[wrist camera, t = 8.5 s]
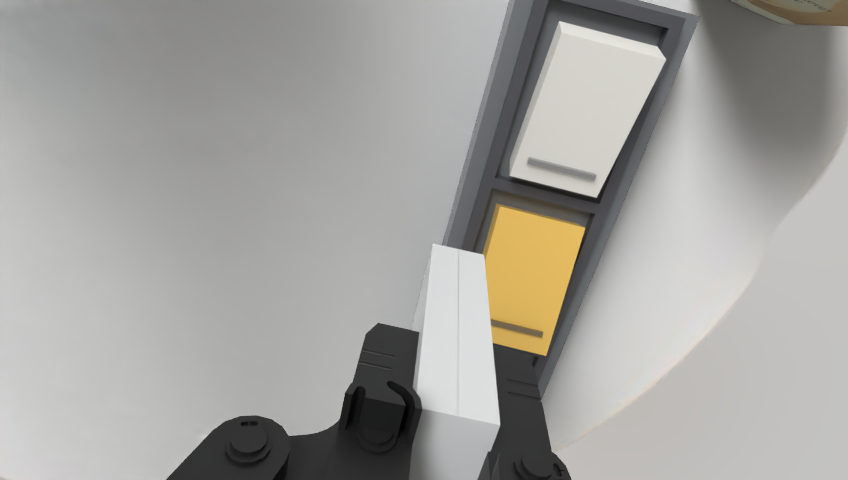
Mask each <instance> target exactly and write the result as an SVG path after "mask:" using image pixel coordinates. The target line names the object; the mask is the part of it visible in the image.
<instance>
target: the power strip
mask: <svg viewBox="0 0 848 480" xmlns="http://www.w3.org/2000/svg"><path fill="white" fill-rule="evenodd" d="M699 18H700V16H696V15H693V14H689V13H685V12H681V11H677V10H673V9H670V8H666V7H662V6H658V5H654V4H651V3H647V2H643V1H639V0H510V1H509V4H508V8H507V12H506V15H505V19H504V23H503V26H502V30H501V33H500V37H499V41H498V44H497V48H496V52H495V55H494V59H493V62H492V66H491V70H490V73H489V77H488V80H487V84H486V88H485V91H484V95H483V99H482V102H481V106H480V109H479V113H478V117H477V120H476V124H475V128H474V131H473V135H472V138H471V142H470V146H469V149H468V153H467V157H466V160H465V164H464V167H463V171H462V175H461V178H460V182H459V186H458V189H457V193H456V196H455V200H454V204H453V207H452V211H451V215H450V218H449V222H448V225H447V229H446V233H445V236H444V240H443V244H442V245H443V246H447V247H452V248H456V249H460V250H465V251H469V252H474V253H478V254H483V250H484V246H485V243H486V239H487V235H488V232H489V228H490V224H491V221H492V217H493V213H494V210H495V206H496V203H498V204H502V205H506V206H510V207H514V208H518V209H522V210H526V211H530V212H534V213H538V214H542V215H546V216H550V217H554V218H558V219H562V220H566V221H570V222H574V223H577V224H579V225H581V226H583V227H585V231H584V234H583V237H582V241H581V244H580V247H579V251H578V254H577V257H576V260H575V264H574V267H573V270H572V273H571V277H570V280H569V283H568V286H567V290H566V293H565V296H564V300H563V303H562V306H561V309H560V313H559V316H558V319H557V322H556V326H555V329H554V332H553V335H552V339H551V342H550V345H549V349H548V352H547V355H546V356H544V355H540V354H536V353H532V352H528V351H524V350H520V349H516V348H511V347H507V346H503V345H499V344H495V343H493V347H496V348H501V349H506V350H510V351H515V352H519V353H524V355H525V356H526V357H527V359H528V360H529V362H530V363H531V364H532V366H533V367H534V369H535V372H536V377H537V382H538V389H539V392H540V397H541V399H542V396H543V394H544V392H545V389H546V387H547V384H548V382H549V380H550V377H551V375H552V372H553V370H554V368H555V365H556V363H557V360H558V358H559V356H560V353H561V351H562V348H563V346H564V344H565V341H566V339H567V336H568V334H569V331H570V329H571V327H572V324H573V322H574V319H575V317H576V315H577V312H578V310H579V307H580V305H581V303H582V300H583V298H584V295H585V293H586V291H587V288H588V286H589V283H590V281H591V278H592V276H593V274H594V271H595V269H596V266H597V264H598V262H599V259H600V257H601V254H602V252H603V250H604V247H605V245H606V242H607V240H608V238H609V235H610V233H611V230H612V228H613V225H614V223H615V221H616V218H617V216H618V213H619V211H620V209H621V206H622V204H623V201H624V199H625V197H626V194H627V192H628V189H629V187H630V185H631V182H632V180H633V177H634V175H635V172H636V170H637V168H638V165H639V163H640V160H641V158H642V156H643V153H644V151H645V148H646V146H647V144H648V141H649V139H650V136H651V134H652V132H653V129H654V127H655V124H656V122H657V119H658V117H659V115H660V112H661V110H662V107H663V105H664V103H665V100H666V98H667V95H668V93H669V91H670V88H671V86H672V83H673V81H674V79H675V76H676V74H677V71H678V69H679V67H680V64H681V62H682V59H683V57H684V54H685V52H686V50H687V47H688V45H689V42H690V40H691V38H692V35H693V33H694V30H695V28H696V26H697V23H698V21H699ZM559 21H561V22H565V23H569V24H573V25H576V26H580V27H584V28H588V29H592V30H596V31H600V32H603V33H607V34H611V35H615V36H619V37H623V38H626V39H630V40H634V41H638V42H642V43H646V44H649V45H653V46H657V47H658V48H659V50H660V51H661V53H662V54H663V56H664V57H665V59H666V61H665V63H664V65H663V67H662V69H661V71H660V73H659V75H658V77H657V79H656V81H655V83H654V85H653V87H652V89H651V91H650V93H649V95H648V97H647V99H646V101H645V103H644V105H643V107H642V109H641V111H640V113H639V115H638V117H637V119H636V121H635V123H634V125H633V127H632V129H631V131H630V133H629V134H628V136H627V138H626V140H625V142H624V144H623V146H622V148H621V150H620V152H619V154H618V156H617V158H616V160H615V162H614V164H613V166H612V168H611V170H610V172H609V174H608V176H607V178H606V180H605V182H604V184H603V186H602V188H601V190H600V192H599V194H598V196H597V198H596V197H592V196H588V195H584V194H580V193H576V192H572V191H568V190H564V189H560V188H556V187H552V186H548V185H544V184H540V183H536V182H532V181H528V180H524V179H520V178H516V177H512V176H510V157H511V154H512V151H513V149H514V146H515V143H516V140H517V137H518V135H519V132H520V129H521V126H522V123H523V121H524V118H525V115H526V112H527V109H528V107H529V104H530V101H531V98H532V95H533V93H534V90H535V87H536V84H537V81H538V79H539V76H540V73H541V70H542V67H543V65H544V62H545V59H546V56H547V53H548V51H549V48H550V45H551V42H552V39H553V37H554V34H555V31H556V28H557V25H558V23H559Z"/></svg>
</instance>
